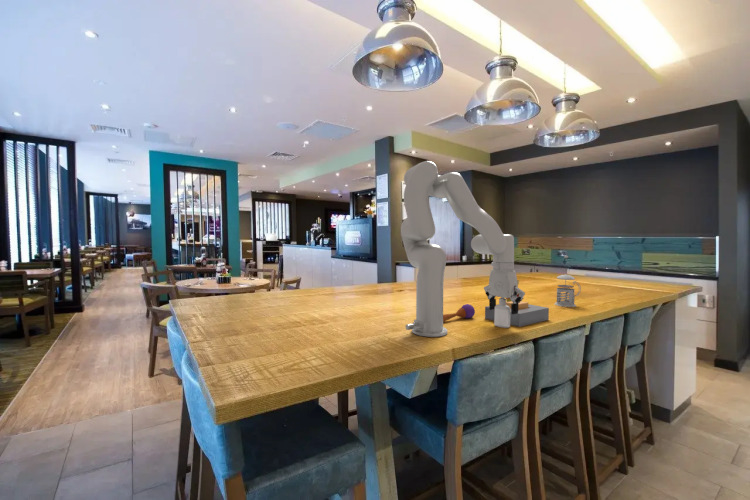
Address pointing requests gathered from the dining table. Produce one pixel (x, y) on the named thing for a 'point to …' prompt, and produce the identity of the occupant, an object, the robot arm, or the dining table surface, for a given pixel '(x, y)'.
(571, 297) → the french press
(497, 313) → the eye dropper bottle
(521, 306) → the button
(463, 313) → the purple maraca
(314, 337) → the dining table surface
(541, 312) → the box
